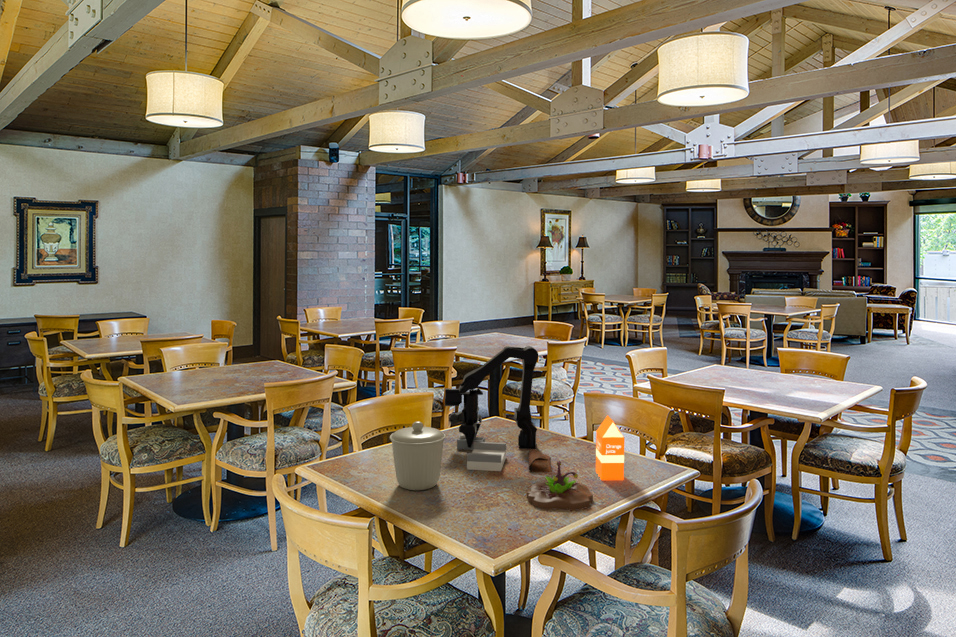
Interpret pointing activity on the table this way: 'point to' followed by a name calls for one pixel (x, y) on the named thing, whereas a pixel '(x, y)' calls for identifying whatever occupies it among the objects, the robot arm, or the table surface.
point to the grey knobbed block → (463, 443)
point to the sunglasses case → (538, 461)
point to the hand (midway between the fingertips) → (470, 444)
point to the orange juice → (609, 451)
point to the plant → (560, 493)
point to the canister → (417, 456)
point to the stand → (487, 456)
